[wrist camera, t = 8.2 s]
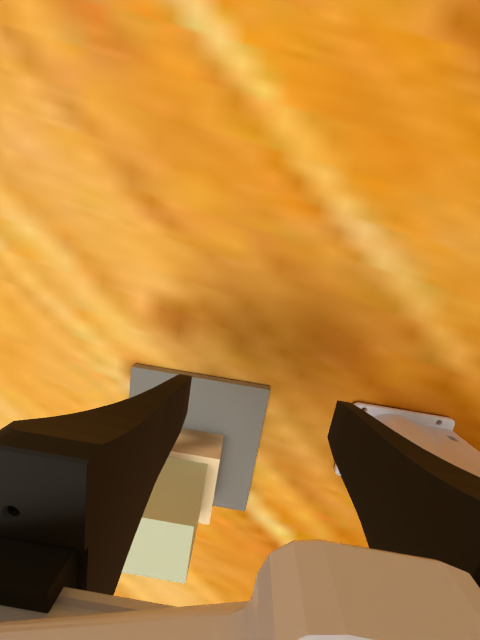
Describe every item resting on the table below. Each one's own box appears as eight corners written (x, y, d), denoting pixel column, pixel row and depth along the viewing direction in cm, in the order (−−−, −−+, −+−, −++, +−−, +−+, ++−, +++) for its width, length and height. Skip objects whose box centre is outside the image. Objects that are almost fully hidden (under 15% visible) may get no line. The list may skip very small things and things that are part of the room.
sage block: (207, 464, 20) (194, 526, 15) (200, 510, 21) (185, 583, 16) (150, 453, 20) (117, 513, 15) (145, 501, 21) (113, 571, 16)
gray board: (269, 385, 22) (269, 390, 22) (245, 503, 25) (245, 511, 24) (135, 363, 22) (131, 366, 22) (126, 483, 25) (123, 490, 25)
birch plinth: (223, 435, 23) (220, 459, 20) (214, 493, 24) (209, 524, 21) (153, 423, 23) (138, 445, 20) (147, 482, 24) (133, 511, 21)
